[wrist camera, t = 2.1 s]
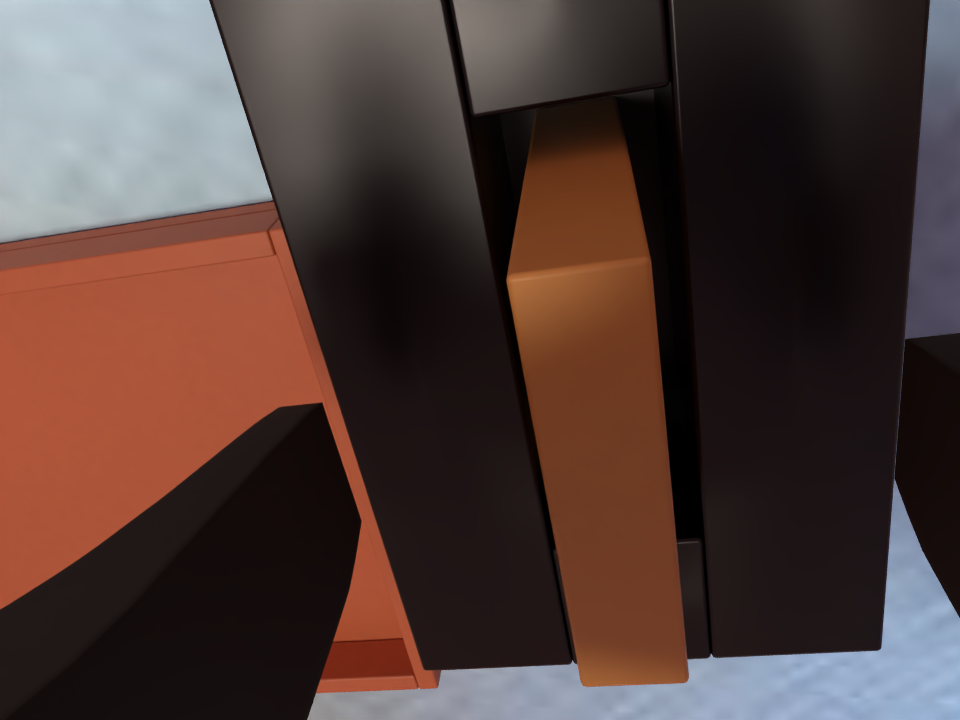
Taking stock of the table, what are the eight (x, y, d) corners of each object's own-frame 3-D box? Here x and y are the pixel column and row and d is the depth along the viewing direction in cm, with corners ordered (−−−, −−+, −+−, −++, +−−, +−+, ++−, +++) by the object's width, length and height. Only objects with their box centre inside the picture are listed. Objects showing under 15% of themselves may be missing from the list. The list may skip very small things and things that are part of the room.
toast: (617, 95, 14) (651, 256, 8) (647, 394, 16) (690, 685, 10) (534, 109, 14) (504, 276, 8) (578, 402, 17) (581, 689, 11)
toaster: (840, -219, 12) (954, -267, 8) (823, 507, 18) (882, 652, 15) (281, -93, 13) (177, -89, 10) (449, 535, 20) (422, 673, 16)
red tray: (322, 192, 16) (293, 226, 14) (448, 631, 21) (438, 689, 20) (-308, 291, 18) (-390, 328, 17) (-45, 657, 24) (-88, 710, 22)
